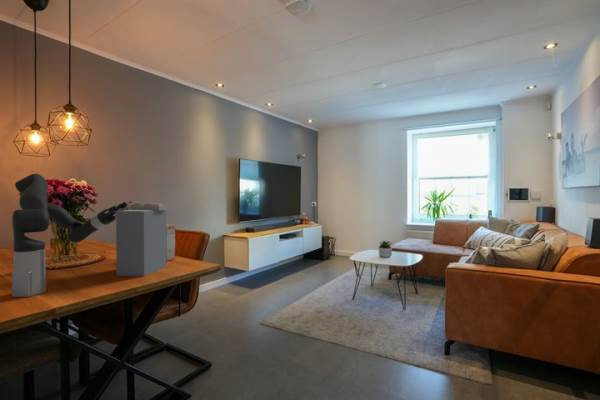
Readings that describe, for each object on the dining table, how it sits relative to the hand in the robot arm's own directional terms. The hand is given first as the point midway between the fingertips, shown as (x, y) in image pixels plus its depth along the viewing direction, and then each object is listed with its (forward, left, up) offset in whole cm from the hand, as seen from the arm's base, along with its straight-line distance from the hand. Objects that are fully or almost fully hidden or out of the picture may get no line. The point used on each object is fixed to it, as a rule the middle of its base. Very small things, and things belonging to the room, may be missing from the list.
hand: (129, 203), depth 158 cm
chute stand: (-6, -9, -34) cm, 36 cm away
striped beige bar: (-1, -6, -3) cm, 7 cm away
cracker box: (+21, -10, -35) cm, 42 cm away
